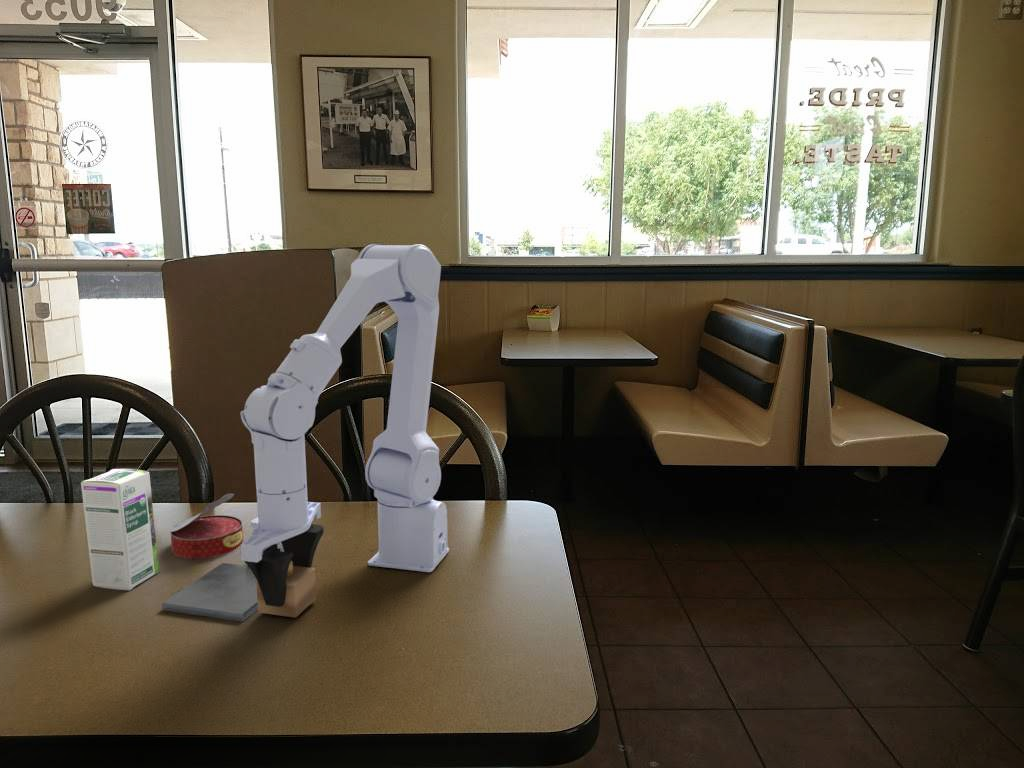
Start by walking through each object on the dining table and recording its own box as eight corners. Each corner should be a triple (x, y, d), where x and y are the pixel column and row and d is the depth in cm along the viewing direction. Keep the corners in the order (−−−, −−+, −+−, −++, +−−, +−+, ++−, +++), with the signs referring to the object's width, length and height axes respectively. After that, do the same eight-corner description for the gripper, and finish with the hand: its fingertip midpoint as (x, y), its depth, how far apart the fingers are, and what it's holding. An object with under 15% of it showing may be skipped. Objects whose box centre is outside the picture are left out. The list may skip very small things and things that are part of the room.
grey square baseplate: (295, 578, 98) (295, 571, 98) (242, 621, 86) (242, 613, 86) (223, 569, 100) (222, 562, 100) (162, 610, 89) (161, 602, 89)
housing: (316, 598, 91) (314, 556, 90) (295, 617, 86) (293, 573, 85) (280, 593, 92) (278, 552, 91) (258, 612, 88) (255, 569, 87)
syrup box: (130, 591, 94) (120, 482, 91) (90, 587, 95) (79, 479, 92) (159, 572, 99) (151, 469, 97) (121, 568, 100) (112, 466, 98)
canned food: (199, 590, 105) (162, 542, 99) (179, 560, 112) (143, 513, 107) (268, 540, 109) (235, 492, 104) (244, 514, 117) (213, 468, 112)
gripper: (284, 467, 95) (289, 565, 97) (213, 504, 81) (221, 618, 83) (334, 471, 93) (338, 571, 95) (271, 509, 79) (277, 626, 81)
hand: (287, 593), depth 89 cm, fingers closed on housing, 5 cm apart
